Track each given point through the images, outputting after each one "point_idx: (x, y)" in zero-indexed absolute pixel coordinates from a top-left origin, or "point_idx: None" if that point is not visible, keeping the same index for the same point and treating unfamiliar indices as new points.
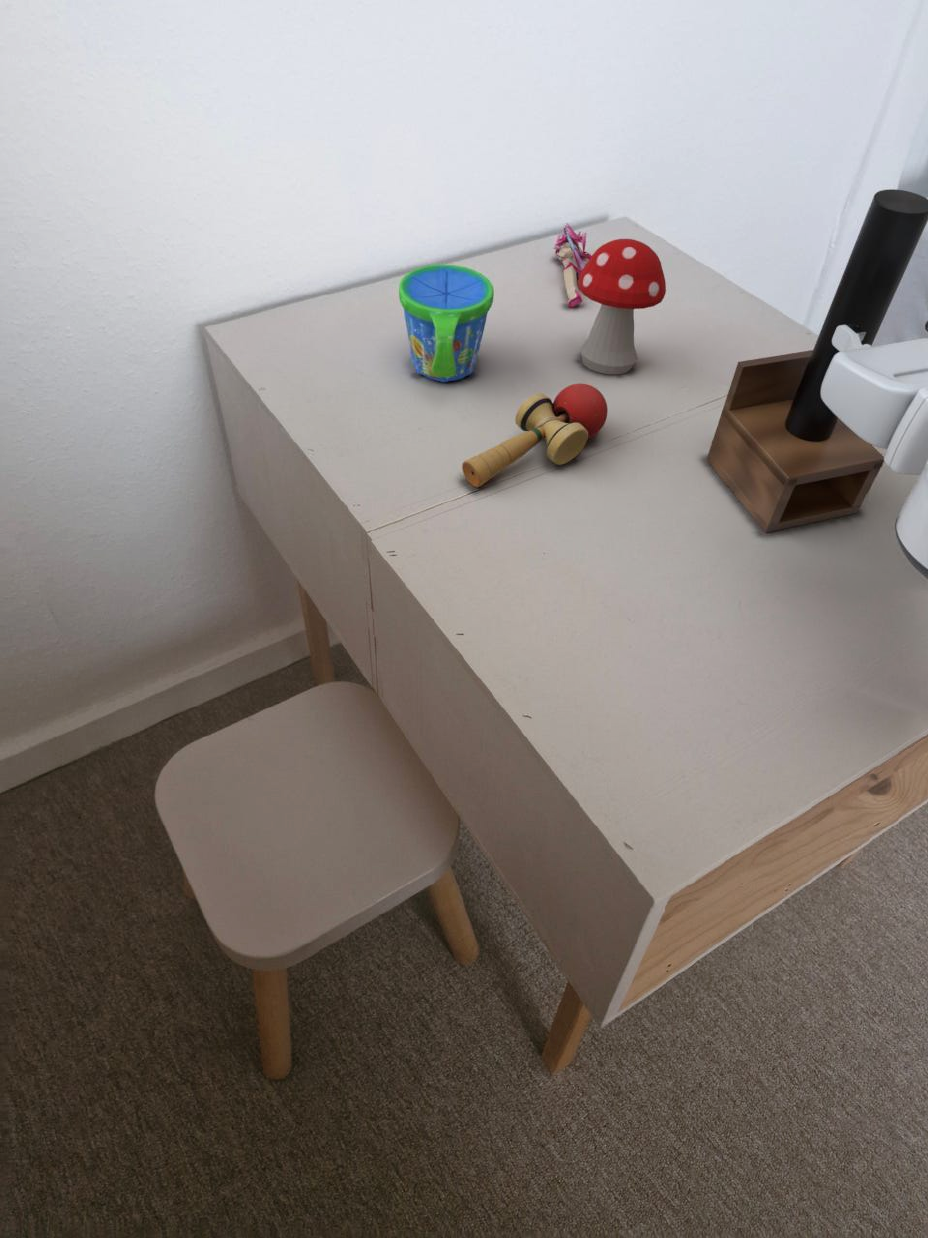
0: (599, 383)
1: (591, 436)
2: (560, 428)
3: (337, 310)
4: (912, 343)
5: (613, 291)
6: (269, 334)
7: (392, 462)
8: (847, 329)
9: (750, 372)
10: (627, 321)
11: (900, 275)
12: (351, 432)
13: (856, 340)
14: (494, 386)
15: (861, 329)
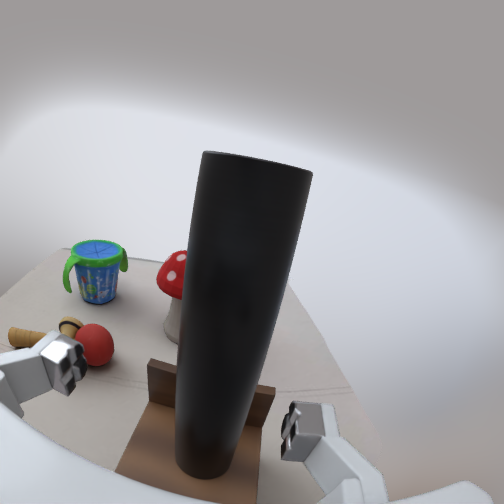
0: (158, 343)
1: (90, 364)
2: None
3: None
4: (10, 435)
5: (163, 279)
6: (68, 257)
7: (13, 314)
8: (43, 339)
9: (158, 374)
10: None
11: (247, 302)
12: (25, 296)
13: (9, 357)
14: (102, 314)
15: (63, 356)
